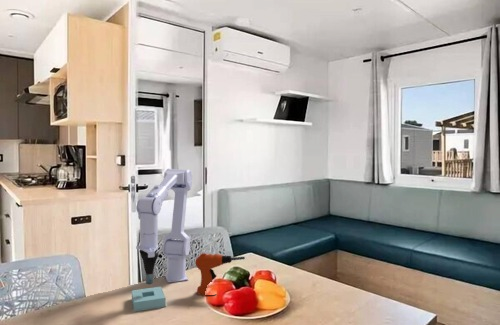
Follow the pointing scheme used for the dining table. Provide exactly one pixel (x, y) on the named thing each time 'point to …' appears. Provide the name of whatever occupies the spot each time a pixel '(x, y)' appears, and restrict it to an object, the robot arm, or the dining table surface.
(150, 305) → the block
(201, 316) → the dining table surface
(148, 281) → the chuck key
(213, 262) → the toy drill
